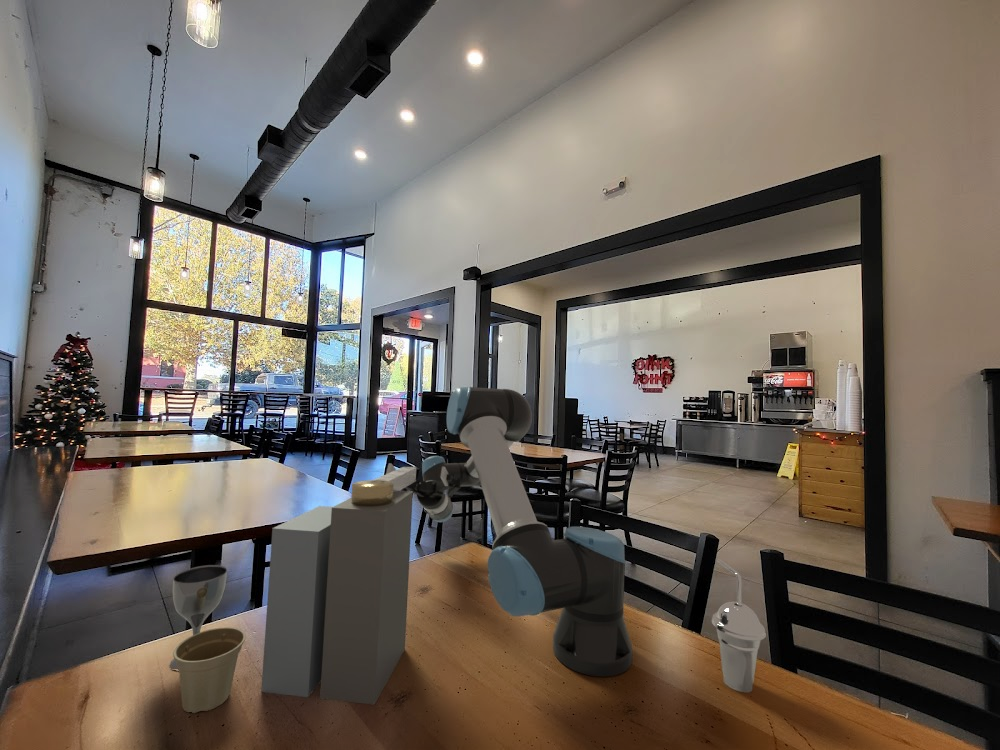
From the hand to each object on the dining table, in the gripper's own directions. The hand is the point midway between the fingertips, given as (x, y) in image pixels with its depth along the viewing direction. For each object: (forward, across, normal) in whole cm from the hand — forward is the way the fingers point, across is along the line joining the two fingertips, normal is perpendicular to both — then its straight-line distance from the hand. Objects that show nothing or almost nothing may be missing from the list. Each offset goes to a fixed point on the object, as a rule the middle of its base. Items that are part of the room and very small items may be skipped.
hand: (415, 470), depth 104 cm
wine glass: (+10, +30, -41) cm, 52 cm away
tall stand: (+9, -1, -40) cm, 41 cm away
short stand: (+9, +9, -40) cm, 42 cm away
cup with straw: (+2, -67, -36) cm, 76 cm away
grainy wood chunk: (+18, -1, -11) cm, 22 cm away
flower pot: (+18, +20, -46) cm, 53 cm away
